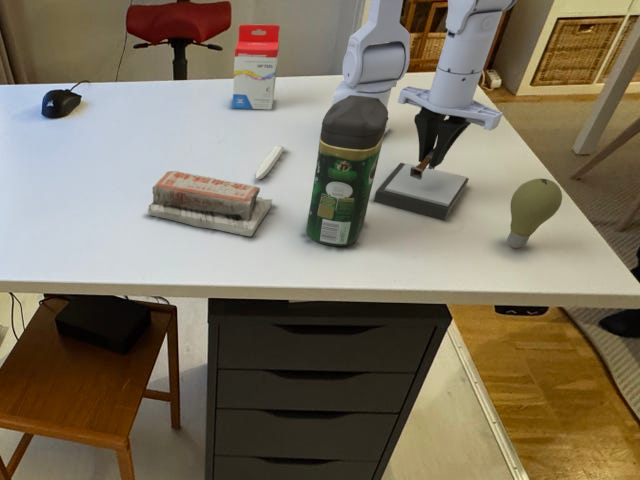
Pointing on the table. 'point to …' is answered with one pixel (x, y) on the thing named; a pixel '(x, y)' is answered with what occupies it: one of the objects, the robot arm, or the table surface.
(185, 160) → the table surface
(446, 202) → the scale
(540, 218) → the light bulb
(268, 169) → the pen
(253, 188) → the packaged product
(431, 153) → the wooden post with brackets
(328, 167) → the coffee jar
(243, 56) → the ink box
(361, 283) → the table surface
